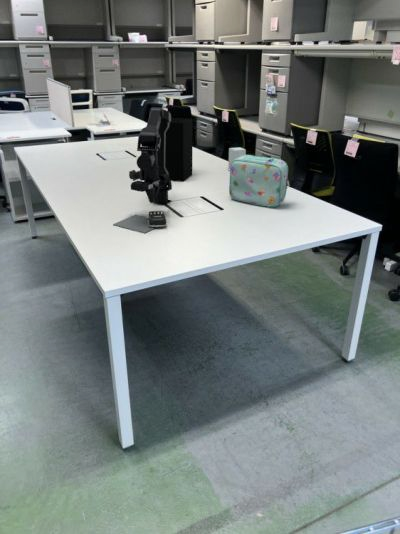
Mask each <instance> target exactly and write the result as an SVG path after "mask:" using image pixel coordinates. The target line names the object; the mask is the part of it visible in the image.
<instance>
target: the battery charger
mask: <svg viewBox="0 0 400 534" xmlns="http://www.w3.org/2000/svg"><path fill="white" fill-rule="evenodd" d="M147 217H148V224H149V227H150V228H155V229H158V228H159V229H160V228H161V229H163V228H166V227H167V223H166V222H167V217H166V215H165V211H163V210H154V211H152V210H151V211H149V212H148V216H147Z"/></svg>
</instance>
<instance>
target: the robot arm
mask: <svg viewBox="0 0 400 534" xmlns="http://www.w3.org/2000/svg"><path fill="white" fill-rule="evenodd" d="M171 118H172V114H171V113H170V111H168V110H166V109H164V108H162V107H151V108H150V109H149V117H148V121H147V123H146V126H145V127H143V128H142V129H141V130H140V133H139V134H138V139H137V147H136V151H137V152H140V155H139V156H138V157H137V158H136V165H137V168H138V169H139V170H138V171H136V170H135V169H133V170H130V171H129V172H128V176H129V179H130V180H132V181H133V182H131V183H130V190H132V191H135V192H143V193H144V192H145V194H146V197H147V198H148V201H149V203H150V204H156V205H162V206H164V205H167V204H169V203H171V202H172V201H171V199H169V191H172V189H173V185H172V181H171V180H170V177H169V173H168V171H167V169H166V168H165V145H166V131H167V130H168V128H169V125H170V122H171Z"/></svg>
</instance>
